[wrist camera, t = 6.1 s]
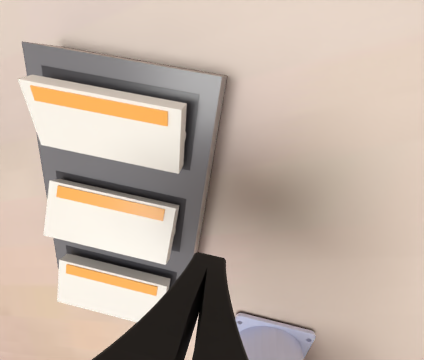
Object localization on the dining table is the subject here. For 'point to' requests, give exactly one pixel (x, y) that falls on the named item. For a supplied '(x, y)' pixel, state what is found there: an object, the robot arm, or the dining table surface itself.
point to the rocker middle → (110, 220)
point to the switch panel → (129, 173)
